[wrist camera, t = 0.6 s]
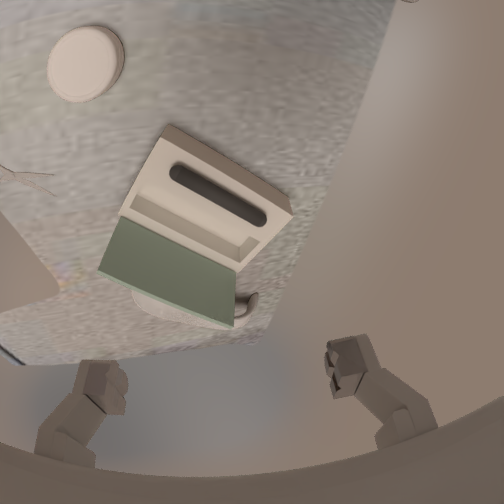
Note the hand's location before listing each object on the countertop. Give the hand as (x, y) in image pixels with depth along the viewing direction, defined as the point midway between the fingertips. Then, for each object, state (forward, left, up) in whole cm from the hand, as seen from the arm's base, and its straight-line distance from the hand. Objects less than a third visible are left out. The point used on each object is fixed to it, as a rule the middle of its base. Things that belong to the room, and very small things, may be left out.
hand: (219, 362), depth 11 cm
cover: (+19, +5, -23) cm, 30 cm away
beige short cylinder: (+3, -19, -33) cm, 38 cm away
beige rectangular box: (+13, +5, -33) cm, 35 cm away
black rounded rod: (+8, +5, -28) cm, 29 cm away
